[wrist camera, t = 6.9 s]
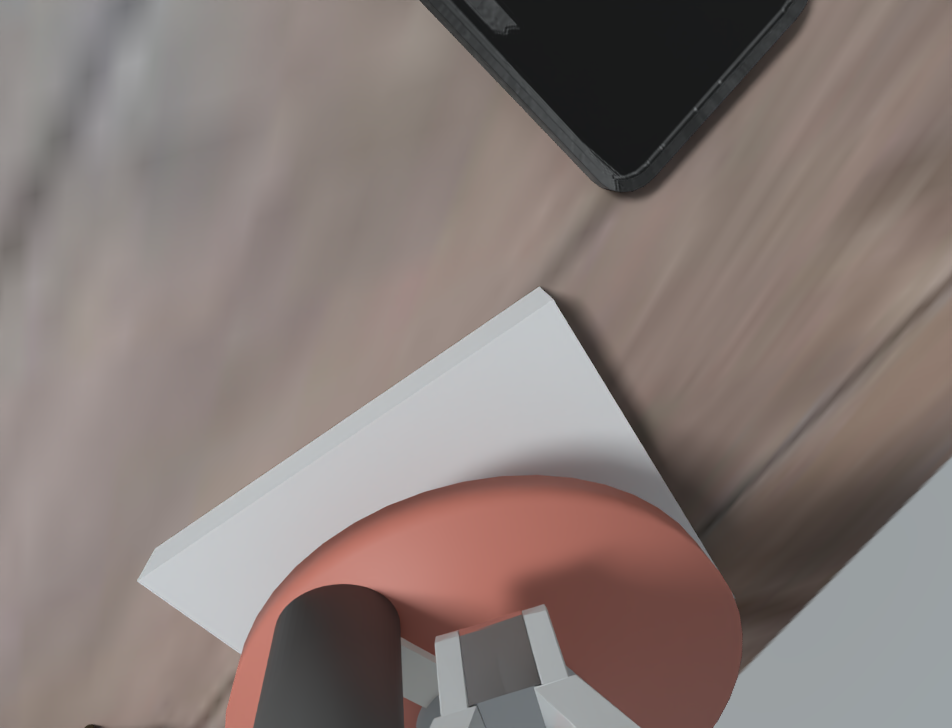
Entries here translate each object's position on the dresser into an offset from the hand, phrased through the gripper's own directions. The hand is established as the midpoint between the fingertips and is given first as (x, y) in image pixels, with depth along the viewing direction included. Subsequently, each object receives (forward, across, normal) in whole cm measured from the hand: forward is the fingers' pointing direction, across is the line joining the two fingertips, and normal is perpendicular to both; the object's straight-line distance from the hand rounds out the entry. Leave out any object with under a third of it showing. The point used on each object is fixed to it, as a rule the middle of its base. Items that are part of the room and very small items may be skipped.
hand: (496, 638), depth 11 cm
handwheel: (+3, +1, +6) cm, 7 cm away
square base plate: (+8, +1, +6) cm, 10 cm away
